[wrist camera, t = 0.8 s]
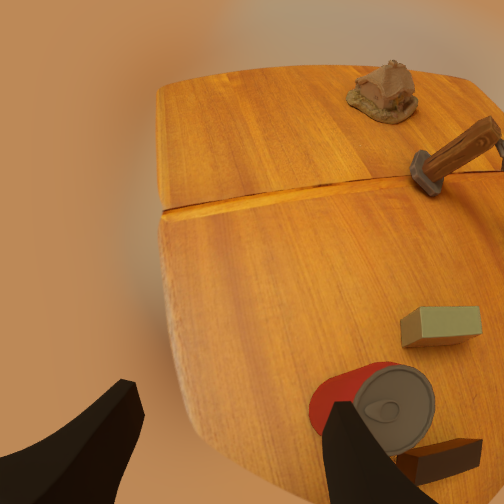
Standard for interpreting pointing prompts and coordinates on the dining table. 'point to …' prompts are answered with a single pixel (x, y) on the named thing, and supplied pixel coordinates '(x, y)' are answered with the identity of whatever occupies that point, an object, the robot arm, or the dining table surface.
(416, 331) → the ceramic block
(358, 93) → the ceramic model
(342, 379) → the beer can
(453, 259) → the dining table surface
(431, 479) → the walnut block
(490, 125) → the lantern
